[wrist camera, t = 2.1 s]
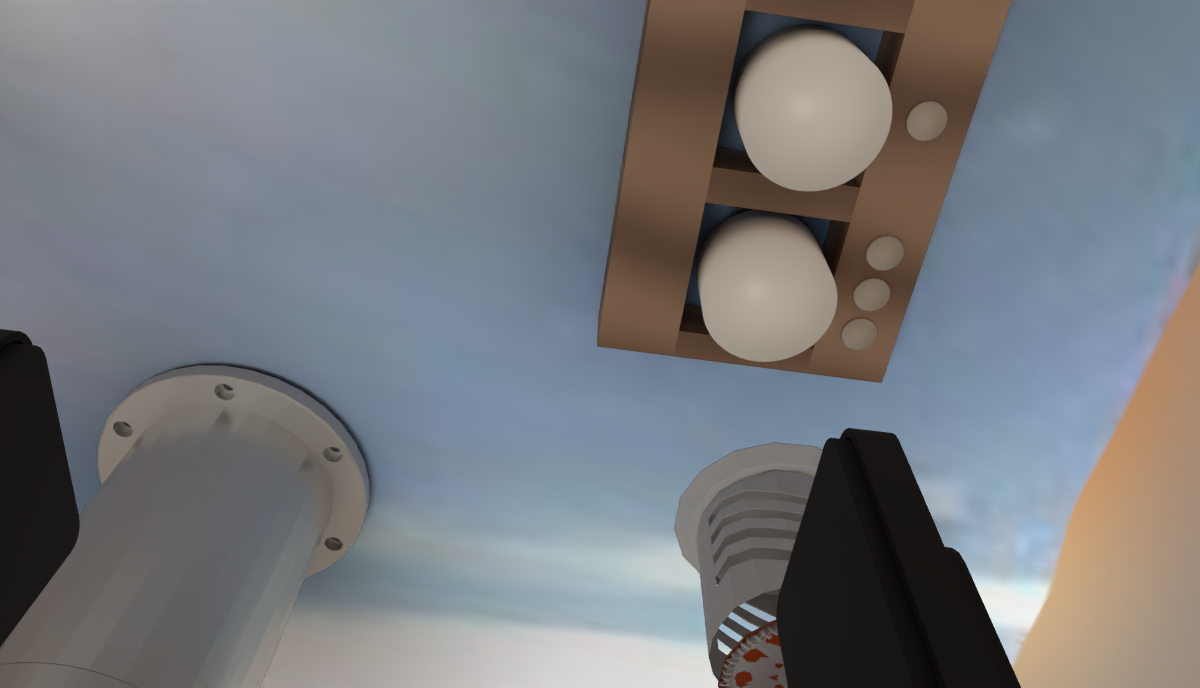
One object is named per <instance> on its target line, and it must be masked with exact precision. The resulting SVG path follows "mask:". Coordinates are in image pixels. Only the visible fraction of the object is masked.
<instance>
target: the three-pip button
mask: <svg viewBox="0 0 1200 688" xmlns="http://www.w3.org/2000/svg"><path fill="white" fill-rule="evenodd" d="M696 275H697V281H698V288H699V294H700V300H701V306H702V312H703V319H704V322H705V325H706V327H707V329H708V331H709V333H710V335H711V336H712V338H713V339H714V340H715V341H716V342H717V343H718V345H720V346H721V347H722V348H723V349H724V350H726V351H728V352H729V353H731V354H733V355H735V356H737V357H740V358H743V359H746V360H751V361H758V362H772V361H779V360H783V359H787V358H790V357H793V356H795V355H797V354H799V353H801V352H803V351H805V350H806V349H808V348H809V347H811V346H812V345H813V344H814V343H816V342H817V341H818V340H819V339H820V338H821V337H822V336H823V335H824V333H825V332H826V330H827V329H828V328H829V326H830V324H831V322H832V320H833V317H834V315H835V311H836V307H837V288H836V284H835V281H834V278H833V276H832V273H831V271H830V269H829V267H828V265H827V262H826V260H825V258H824V256H823V254H822V251H821V249H820V247H819V245H818V243H817V240H816V239H815V237H814V235H813V233H812V232H811V231H810V230H809V229H808V227H807V226H806V225H804V224H803V223H802V222H801V221H799V220H798V219H796V218H795V217H793V216H791V215H789V214H786V213H778V212H771V211H764V210H752V211H747V212H743V213H740V214H737V215H735V216H733V217H731V218H729V219H727V220H726V221H724V222H723V223H721V224H720V225H719V226H717V227H716V228H715V229H714V230H713V231H712V232H711V233H710V235H709V236H708V237H707V238H706V240H705V242H704V243H703V245H702V247H701V250H700V252H699V255H698V259H697V266H696Z"/></svg>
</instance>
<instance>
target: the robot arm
mask: <svg viewBox="0 0 1200 688" xmlns="http://www.w3.org/2000/svg"><path fill="white" fill-rule="evenodd" d="M97 466H98V472H99V478H100V482H101V487H100V488H99V489H98V491H97V492H96V493H95V494H94V496H93V497H92V498H91V500H90V501H89V502H88V504H87V505H86V506H85V507H84V509H83V510H82V511H81V513H80V514H78V509H77V505H76V500H75V495H74V490H73V485H72V481H71V476H70V471H69V466H68V461H67V457H66V452H65V447H64V442H63V437H62V432H61V428H60V423H59V418H58V413H57V408H56V404H55V399H54V394H53V389H52V384H51V380H50V375H49V370H48V365H47V360H46V357H45V354H44V352H43V350H42V349H41V348H40V347H38V346H35V345H32V343H31V340H30V339H29V338H28V336H27V335H26V334H24V333H22V332H20V331H12V330H3V329H0V688H260V687H261V685H262V682H263V680H264V677H265V675H266V672H267V670H268V668H269V665H270V663H271V660H272V658H273V655H274V653H275V651H276V648H277V646H278V643H279V641H280V639H281V636H282V634H283V631H284V629H285V626H286V624H287V622H288V619H289V617H290V614H291V612H292V609H293V607H294V605H295V602H296V600H297V597H298V595H299V593H300V590H301V588H302V585H303V583H304V580H305V578H306V577H310V576H313V575H315V574H316V573H318V572H320V571H322V570H324V569H326V568H328V567H330V566H331V565H332V564H334V563H335V562H336V561H337V560H338V559H340V558H341V557H342V556H343V555H344V554H345V553H346V552H347V551H348V549H349V548H350V547H351V545H352V544H353V543H354V541H355V540H356V539H357V536H358V534H359V531H360V529H361V527H362V524H363V522H364V519H365V516H366V512H367V508H368V505H369V478H368V474H367V469H366V465H365V462H364V460H363V457H362V455H361V453H360V451H359V449H358V447H357V445H356V443H355V441H354V440H353V438H352V437H351V436H350V434H349V433H348V432H347V430H346V429H345V427H344V426H343V425H342V423H341V422H340V421H339V420H338V419H336V418H335V417H334V416H333V415H332V414H331V413H330V412H329V411H328V410H327V409H326V408H325V407H324V406H323V405H321V404H320V403H319V402H317V401H316V400H314V399H313V398H311V397H310V396H309V395H307V394H306V393H304V392H303V391H301V390H299V389H297V388H295V387H293V386H291V385H289V384H287V383H285V382H283V381H281V380H279V379H277V378H274V377H271V376H268V375H265V374H262V373H258V372H255V371H252V370H247V369H241V368H235V367H229V366H192V367H186V368H180V369H174V370H171V371H168V372H166V373H163V374H160V375H158V376H155V377H152V378H150V379H149V380H147V381H146V382H144V383H142V384H141V385H139V386H138V387H136V388H135V389H133V390H132V391H131V392H130V393H129V394H128V395H127V396H126V398H125V399H124V400H123V401H122V402H121V403H120V404H119V405H118V406H117V407H116V408H115V410H114V411H113V412H112V414H111V415H110V416H109V418H108V419H107V421H106V422H105V425H104V428H103V430H102V433H101V436H100V439H99V441H98V452H97ZM776 623H777V630H778V636H779V641H780V646H781V652H782V657H783V663H784V668H785V674H786V679H787V685H788V688H1021V687H1020V684H1019V682H1018V680H1017V677H1016V675H1015V673H1014V671H1013V669H1012V666H1011V664H1010V662H1009V660H1008V657H1007V655H1006V653H1005V651H1004V648H1003V646H1002V644H1001V642H1000V639H999V637H998V635H997V633H996V631H995V628H994V626H993V624H992V622H991V619H990V617H989V615H988V613H987V610H986V608H985V606H984V604H983V601H982V599H981V597H980V595H979V593H978V590H977V588H976V586H975V584H974V581H973V579H972V577H971V575H970V572H969V570H968V568H967V566H966V564H965V562H964V560H963V558H962V557H961V555H960V554H959V552H957V551H956V550H954V549H953V548H949V547H944V544H943V542H942V540H941V537H940V535H939V533H938V530H937V528H936V526H935V523H934V521H933V519H932V516H931V514H930V512H929V510H928V507H927V505H926V503H925V500H924V498H923V496H922V493H921V491H920V489H919V486H918V484H917V482H916V479H915V477H914V475H913V472H912V470H911V468H910V465H909V463H908V461H907V458H906V456H905V454H904V451H903V449H902V447H901V444H900V442H899V440H898V438H897V437H896V435H895V434H893V433H887V432H878V431H870V430H861V429H853V428H848V429H846V430H845V431H844V432H843V433H842V435H841V437H840V439H836V438H829V439H828V440H827V441H826V443H825V445H824V448H823V451H822V454H821V458H820V461H819V464H818V467H817V471H816V474H815V477H814V481H813V484H812V487H811V490H810V494H809V497H808V500H807V504H806V507H805V510H804V514H803V517H802V520H801V523H800V527H799V530H798V533H797V537H796V540H795V543H794V546H793V550H792V553H791V556H790V560H789V563H788V566H787V570H786V573H785V576H784V579H783V583H782V586H781V589H780V593H779V596H778V601H777V610H776Z"/></svg>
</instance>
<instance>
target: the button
mask: <svg viewBox="0 0 1200 688" xmlns="http://www.w3.org/2000/svg"><path fill="white" fill-rule="evenodd" d="M732 109H733V114H734V118H735V122H736V124H737V127H738V130H739V132H740V135H741V138H742V141H743V143H744V146H745V149H746V151H747V153H748V156H749V158H750V159H751V161H752V163H753V164H754V165H755V167H756V168H757V169H758V170H759V171H760V172H761V173H762V174H763V175H764V176H765V177H766V178H768V179H769V180H771V181H772V182H774V183H776V184H778V185H780V186H782V187H785V188H788V189H792V190H797V191H807V192H809V191H821V190H826V189H830V188H833V187H836V186H839V185H841V184H843V183H846V182H847V181H849V180H851V179H853V178H854V177H856V176H857V175H858V174H860V173H861V172H862V171H863V170H864V169H866V168H867V167H868V166H869V165H870V164H871V162H872V161H873V160H874V159H875V158H876V156H877V155H878V153H879V152H880V150H881V149H882V147H883V145H884V143H885V141H886V139H887V136H888V133H889V130H890V126H891V121H892V100H891V94H890V90H889V87H888V84H887V82H886V80H885V78H884V76H883V75H882V73H881V72H880V70H879V69H878V68H877V67H876V66H875V65H874V64H873V62H872V61H871V60H870V59H869V58H868V57H867V56H866V55H865V54H864V53H863V52H862V51H861V50H860V49H859V48H858V47H857V46H856V45H855V44H854V43H853V42H852V41H851V40H849V39H848V38H847V37H846V36H844V35H843V34H841V33H839V32H837V31H836V30H833V29H831V28H828V27H824V26H820V25H810V24H806V25H796V26H791V27H787V28H784V29H781V30H779V31H777V32H775V33H773V34H771V35H769V36H768V37H766V38H765V39H763V40H762V41H761V42H760V43H758V44H757V45H756V46H755V47H754V48H753V49H752V50H751V51H750V53H749V54H748V55H747V57H746V58H745V59H744V61H743V63H742V64H741V66H740V68H739V70H738V73H737V75H736V78H735V81H734V85H733V91H732Z"/></svg>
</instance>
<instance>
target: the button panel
mask: <svg viewBox="0 0 1200 688" xmlns="http://www.w3.org/2000/svg"><path fill="white" fill-rule="evenodd" d="M1011 1H1012V0H647V4H646V11H645V17H644V24H643V30H642V37H641V43H640V50H639V56H638V63H637V69H636V76H635V82H634V89H633V95H632V102H631V108H630V115H629V121H628V128H627V134H626V141H625V147H624V154H623V160H622V167H621V173H620V180H619V186H618V193H617V199H616V206H615V212H614V219H613V226H612V232H611V239H610V245H609V252H608V258H607V265H606V271H605V278H604V284H603V291H602V297H601V304H600V310H599V317H598V336H597V346H598V347H606V348H614V349H621V350H629V351H637V352H645V353H653V354H660V355H668V356H676V357H684V358H692V359H699V360H707V361H715V362H723V363H731V364H738V365H746V366H754V367H762V368H770V369H778V370H785V371H793V372H801V373H809V374H817V375H824V376H832V377H840V378H848V379H856V380H863V381H871V382H879V383H882V380H883V377H884V374H885V371H886V368H887V365H888V363H889V360H890V357H891V354H892V351H893V348H894V345H895V342H896V339H897V336H898V333H899V330H900V327H901V324H902V321H903V318H904V316H905V313H906V310H907V307H908V304H909V301H910V298H911V295H912V292H913V289H914V286H915V283H916V280H917V277H918V274H919V272H920V269H921V266H922V263H923V260H924V257H925V254H926V251H927V248H928V245H929V242H930V239H931V236H932V233H933V230H934V227H935V225H936V222H937V219H938V216H939V213H940V210H941V207H942V204H943V201H944V198H945V195H946V192H947V189H948V186H949V183H950V180H951V178H952V175H953V172H954V169H955V166H956V163H957V160H958V157H959V154H960V151H961V148H962V145H963V142H964V139H965V136H966V134H967V131H968V128H969V125H970V122H971V119H972V116H973V113H974V110H975V107H976V104H977V101H978V98H979V95H980V92H981V89H982V87H983V84H984V81H985V78H986V75H987V72H988V69H989V66H990V63H991V60H992V57H993V54H994V51H995V48H996V45H997V43H998V40H999V37H1000V34H1001V31H1002V28H1003V25H1004V22H1005V19H1006V16H1007V13H1008V10H1009V7H1010V4H1011ZM744 10H748V11H755V12H762V13H769V14H775V15H782V16H789V17H796V18H803V19H809V20H816V21H823V22H830V23H837V24H843V25H850V26H857V27H864V28H870V29H877V30H884V33H883V36H882V40H881V44H880V47H879V51H878V54H877V58H876V61H875V66H876V67H877V68H878V69H879V70H880V72H881V73H882V75H883V76H884V78H885V80H886V82H887V84H888V87H889V90H890V94H891V100H892V121H891V126H890V130H889V133H888V136H887V139H886V141H885V143H884V145H883V147H882V149H881V150H880V152H879V153H878V155H877V156H876V158H875V159H874V160H873V161H872V162H871V164H870V165H869V166H868V167H867V168H866V169H864V170H863V171H862V172H861V173H860V174H858V175H857V176H856V177H854V178H853V179H851V180H849V181H847V182H846V183H843V184H841V185H839V186H836V187H833V188H830V189H826V190H821V191H809V192H807V191H797V190H792V189H788V188H785V187H782V186H780V185H778V184H776V183H774V182H772V181H771V180H769V179H768V178H766V177H765V176H764V175H763V174H762V173H761V172H760V171H759V170H758V169H757V168H756V167H755V165H754V164H753V163H752V161H751V159H750V158H749V156H748V153H747V151H739V150H732V149H725V148H718V147H717V142H718V138H719V133H720V128H721V123H722V118H723V113H724V108H725V103H726V98H727V94H728V89H729V84H730V79H731V74H732V69H733V64H734V59H735V54H736V50H737V45H738V40H739V35H740V30H741V25H742V20H743V15H744ZM705 203H712V204H720V205H727V206H734V207H742V208H749V209H756V210H764V211H771V212H778V213H786V214H793V215H800V216H807V217H815V218H822V219H829V220H831V223H830V226H829V230H828V233H827V237H826V240H825V244H824V248H823V251H822V254H823V256H824V258H825V260H826V262H827V265H828V267H829V269H830V271H831V273H832V276H833V278H834V281H835V284H836V288H837V307H836V311H835V315H834V317H833V320H832V322H831V324H830V326H829V328H828V329H827V330H826V332H825V333H824V335H823V336H822V337H821V338H820V339H819V340H818V341H817V342H816V343H814V344H813V345H812V346H811V347H809V348H808V349H806V350H805V351H803V352H801V353H799V354H797V355H795V356H793V357H790V358H787V359H783V360H779V361H772V362H758V361H751V360H746V359H743V358H740V357H737V356H735V355H733V354H731V353H729V352H728V351H726V350H724V349H723V348H722V347H721V346H720V345H718V343H717V342H716V341H715V340H714V339H713V338H712V336H711V335H710V333H709V331H708V329H707V327H706V325H705V322H704V319H703V312H702V306H696V305H688V304H685V299H686V294H687V289H688V284H689V279H690V274H691V270H692V265H693V260H694V255H695V250H696V245H697V240H698V235H699V230H700V226H701V221H702V216H703V211H704V206H705Z"/></svg>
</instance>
